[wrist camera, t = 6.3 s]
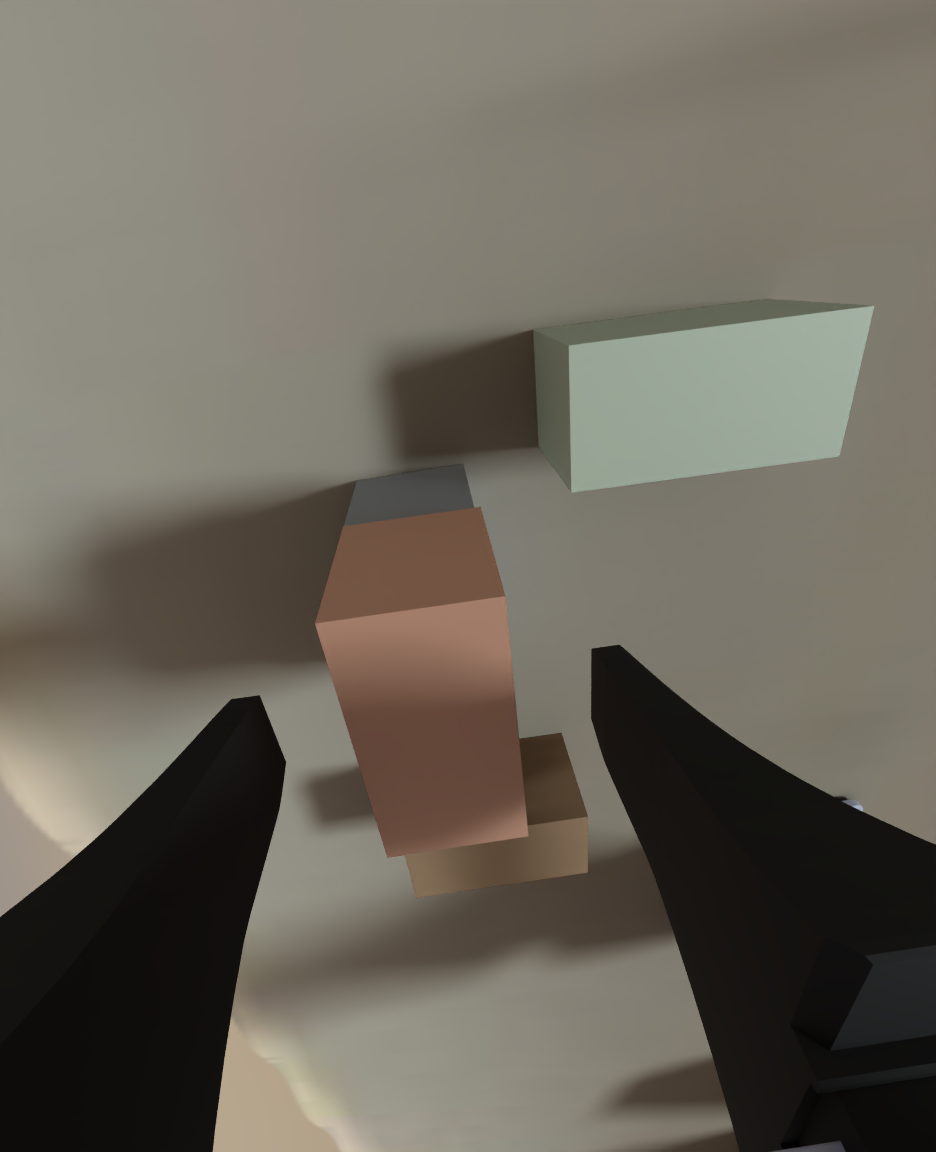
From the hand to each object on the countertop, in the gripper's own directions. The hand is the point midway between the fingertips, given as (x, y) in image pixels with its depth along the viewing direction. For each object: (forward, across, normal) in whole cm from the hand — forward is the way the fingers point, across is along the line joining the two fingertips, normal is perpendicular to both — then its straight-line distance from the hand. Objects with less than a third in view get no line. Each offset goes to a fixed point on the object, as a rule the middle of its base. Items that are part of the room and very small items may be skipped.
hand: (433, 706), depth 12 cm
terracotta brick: (+3, 0, 0) cm, 3 cm away
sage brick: (+7, -7, -5) cm, 11 cm away
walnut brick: (+7, -1, +10) cm, 12 cm away
